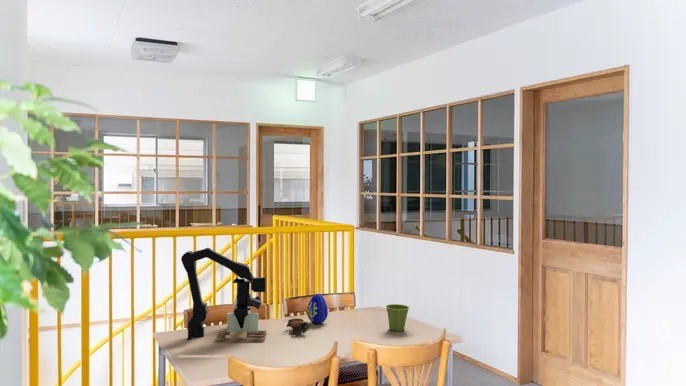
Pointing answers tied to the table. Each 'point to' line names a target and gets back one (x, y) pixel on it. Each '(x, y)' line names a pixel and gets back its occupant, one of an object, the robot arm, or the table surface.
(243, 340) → the walnut rack
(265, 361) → the table surface
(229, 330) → the sage board
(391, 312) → the plant pot
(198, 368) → the table surface
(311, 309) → the ornament
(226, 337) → the lower pine offcut
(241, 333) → the upper pine offcut
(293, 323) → the pottery mug
